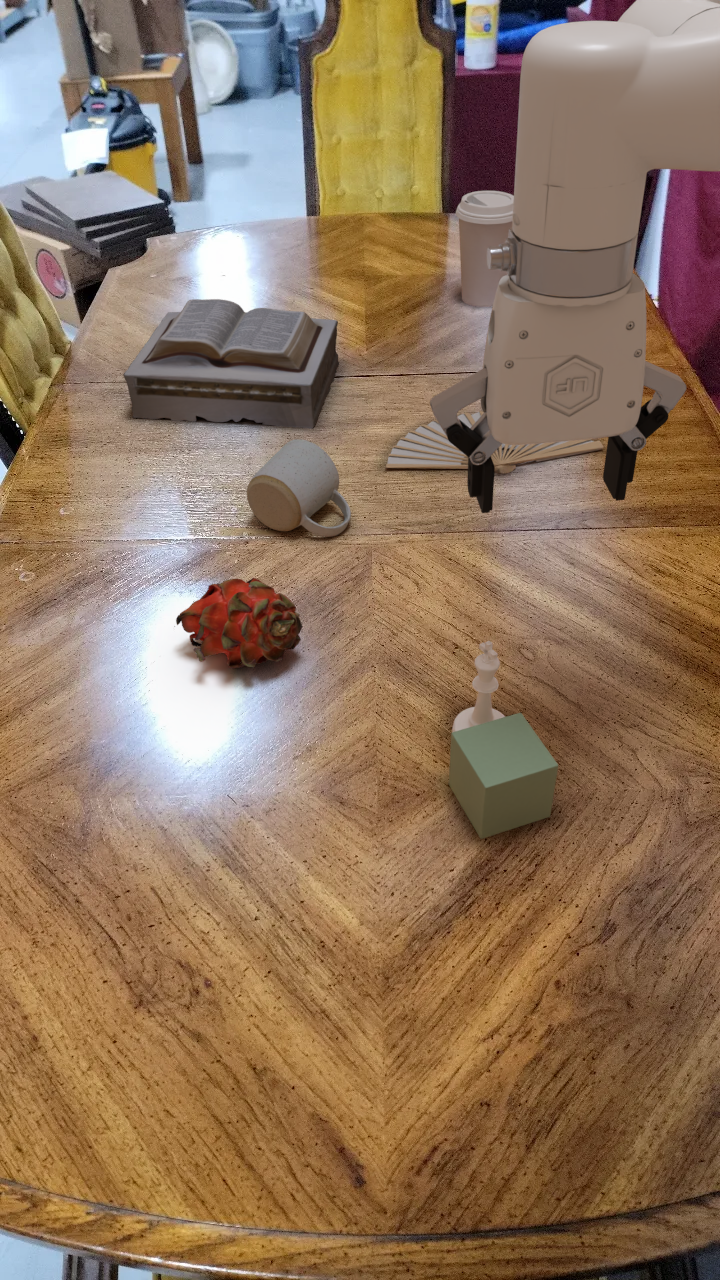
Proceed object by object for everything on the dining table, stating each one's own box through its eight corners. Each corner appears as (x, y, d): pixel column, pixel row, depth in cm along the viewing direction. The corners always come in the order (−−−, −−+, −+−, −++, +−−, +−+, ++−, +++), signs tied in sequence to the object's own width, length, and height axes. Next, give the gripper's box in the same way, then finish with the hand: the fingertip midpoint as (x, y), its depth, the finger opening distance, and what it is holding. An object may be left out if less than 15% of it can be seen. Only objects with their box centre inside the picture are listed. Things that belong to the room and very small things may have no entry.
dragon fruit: (313, 681, 92) (194, 678, 95) (321, 593, 94) (204, 592, 97) (282, 660, 84) (154, 657, 87) (292, 564, 86) (166, 565, 89)
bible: (189, 342, 145) (180, 275, 139) (363, 366, 138) (362, 296, 131) (107, 415, 128) (93, 343, 122) (300, 447, 121) (295, 371, 115)
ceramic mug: (244, 525, 108) (238, 464, 103) (284, 489, 114) (280, 430, 109) (327, 553, 104) (325, 491, 99) (365, 514, 110) (365, 454, 105)
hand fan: (613, 466, 116) (574, 406, 127) (614, 460, 116) (575, 400, 127) (391, 487, 114) (371, 424, 125) (391, 481, 113) (371, 418, 124)
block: (514, 763, 81) (521, 711, 77) (550, 817, 77) (559, 765, 73) (448, 784, 80) (451, 732, 76) (480, 840, 75) (485, 787, 72)
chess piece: (478, 762, 81) (486, 672, 75) (440, 727, 84) (444, 639, 78) (522, 735, 84) (533, 646, 77) (483, 703, 87) (491, 614, 80)
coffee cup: (451, 287, 159) (455, 189, 149) (510, 287, 158) (518, 188, 149) (452, 311, 152) (457, 209, 142) (515, 311, 151) (524, 209, 141)
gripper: (442, 295, 58) (439, 537, 69) (732, 271, 58) (682, 514, 70) (422, 249, 63) (422, 480, 74) (687, 228, 64) (648, 459, 75)
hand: (548, 496), depth 72 cm, fingers open, 9 cm apart
